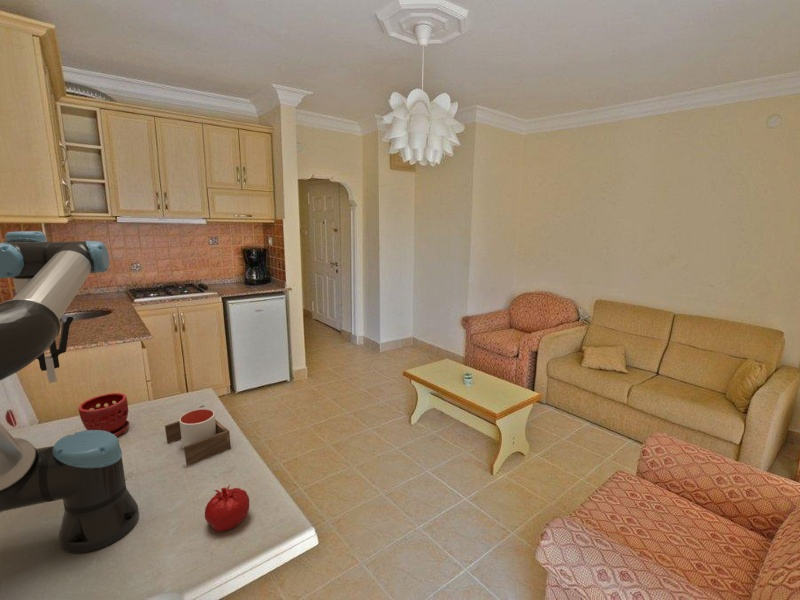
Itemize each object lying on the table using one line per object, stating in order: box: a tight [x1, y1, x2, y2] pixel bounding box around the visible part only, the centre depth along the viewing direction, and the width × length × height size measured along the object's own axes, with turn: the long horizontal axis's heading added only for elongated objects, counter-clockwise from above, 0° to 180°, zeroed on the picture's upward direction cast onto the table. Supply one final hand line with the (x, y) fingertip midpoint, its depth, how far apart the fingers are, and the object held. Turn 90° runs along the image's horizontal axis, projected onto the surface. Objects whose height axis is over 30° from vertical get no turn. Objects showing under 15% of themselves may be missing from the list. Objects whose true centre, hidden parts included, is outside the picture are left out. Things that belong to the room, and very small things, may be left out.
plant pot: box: [77, 392, 130, 437], centre depth 136 cm, size 13×13×12 cm
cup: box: [178, 408, 216, 449], centre depth 130 cm, size 10×10×10 cm
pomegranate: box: [204, 484, 251, 533], centre depth 98 cm, size 10×10×9 cm
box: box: [164, 418, 232, 467], centre depth 130 cm, size 18×13×6 cm
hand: (52, 380), depth 108 cm, fingers closed
